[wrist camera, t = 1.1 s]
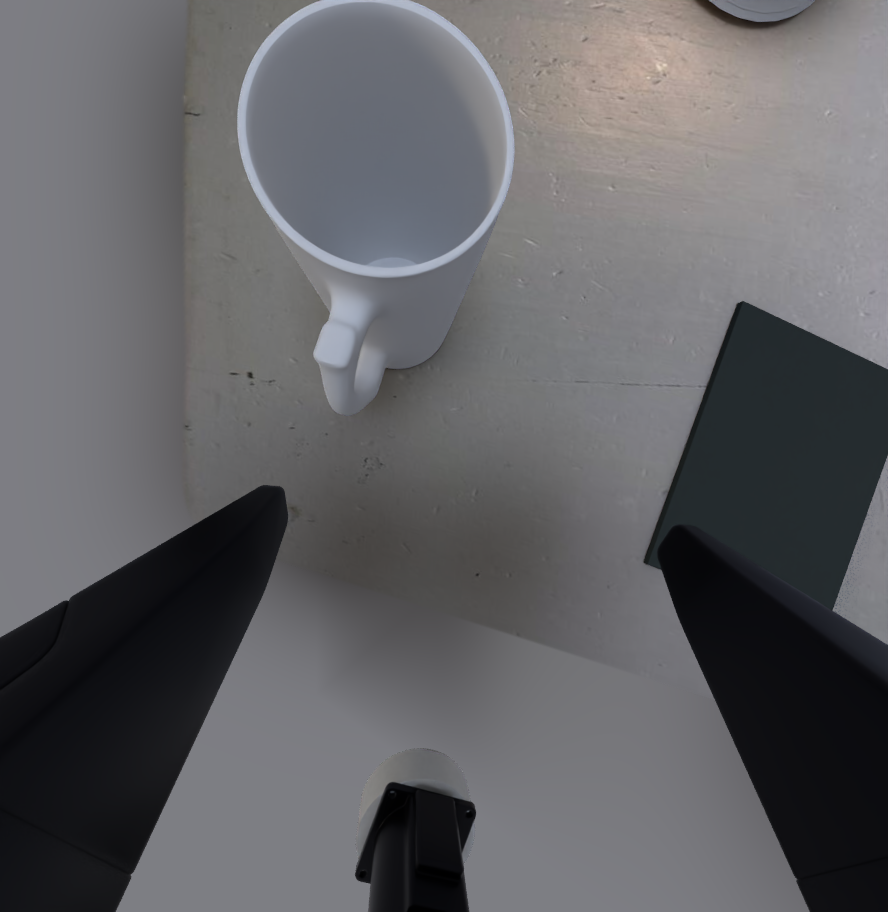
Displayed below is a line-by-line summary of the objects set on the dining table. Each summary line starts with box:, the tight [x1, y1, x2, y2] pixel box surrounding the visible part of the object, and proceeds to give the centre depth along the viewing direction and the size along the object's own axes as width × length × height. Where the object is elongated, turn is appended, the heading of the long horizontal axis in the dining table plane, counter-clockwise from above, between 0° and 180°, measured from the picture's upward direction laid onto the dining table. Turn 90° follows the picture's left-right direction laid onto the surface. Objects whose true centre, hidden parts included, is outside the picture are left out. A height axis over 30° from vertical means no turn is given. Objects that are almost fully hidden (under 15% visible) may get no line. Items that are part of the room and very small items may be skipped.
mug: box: [237, 0, 514, 416], centre depth 15 cm, size 10×7×12 cm, turn 163°
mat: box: [644, 301, 888, 610], centre depth 23 cm, size 18×14×1 cm
